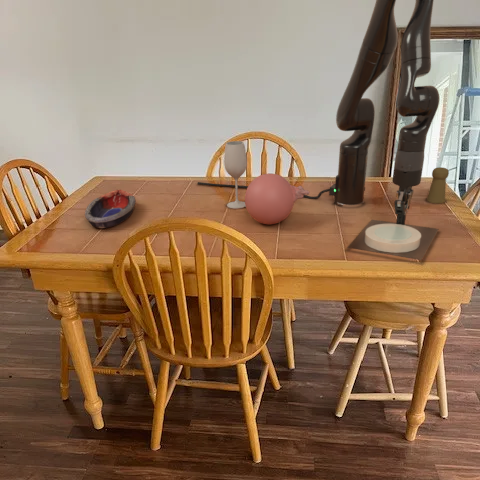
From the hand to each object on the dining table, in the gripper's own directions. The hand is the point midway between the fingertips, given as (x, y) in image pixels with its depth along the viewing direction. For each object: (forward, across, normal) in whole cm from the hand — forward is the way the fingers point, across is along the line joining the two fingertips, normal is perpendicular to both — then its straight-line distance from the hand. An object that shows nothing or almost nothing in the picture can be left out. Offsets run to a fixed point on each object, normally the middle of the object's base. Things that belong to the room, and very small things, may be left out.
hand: (400, 226), depth 145 cm
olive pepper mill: (+3, -35, +4) cm, 36 cm away
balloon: (+3, +6, -37) cm, 38 cm away
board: (+3, +6, 0) cm, 6 cm away
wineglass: (+3, -4, -57) cm, 57 cm away
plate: (+2, +9, 0) cm, 9 cm away
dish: (+3, +22, -91) cm, 94 cm away
